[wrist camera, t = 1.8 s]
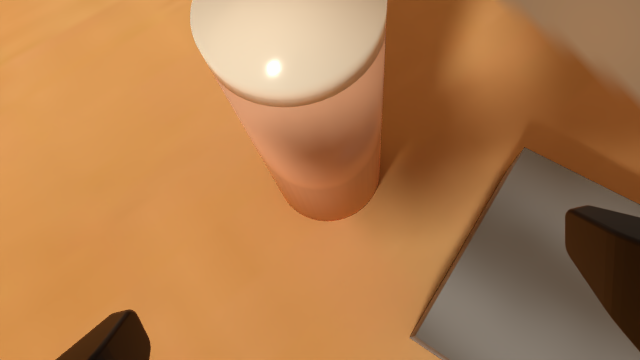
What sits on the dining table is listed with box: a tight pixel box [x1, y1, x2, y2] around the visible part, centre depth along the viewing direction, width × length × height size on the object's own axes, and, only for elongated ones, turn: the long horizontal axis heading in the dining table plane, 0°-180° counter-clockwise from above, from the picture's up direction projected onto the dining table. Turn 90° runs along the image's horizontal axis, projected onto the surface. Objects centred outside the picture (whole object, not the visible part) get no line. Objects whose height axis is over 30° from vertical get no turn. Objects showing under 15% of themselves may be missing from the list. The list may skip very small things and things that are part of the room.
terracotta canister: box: [190, 0, 387, 221], centre depth 19 cm, size 6×6×13 cm
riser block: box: [410, 147, 640, 360], centre depth 20 cm, size 10×10×3 cm
